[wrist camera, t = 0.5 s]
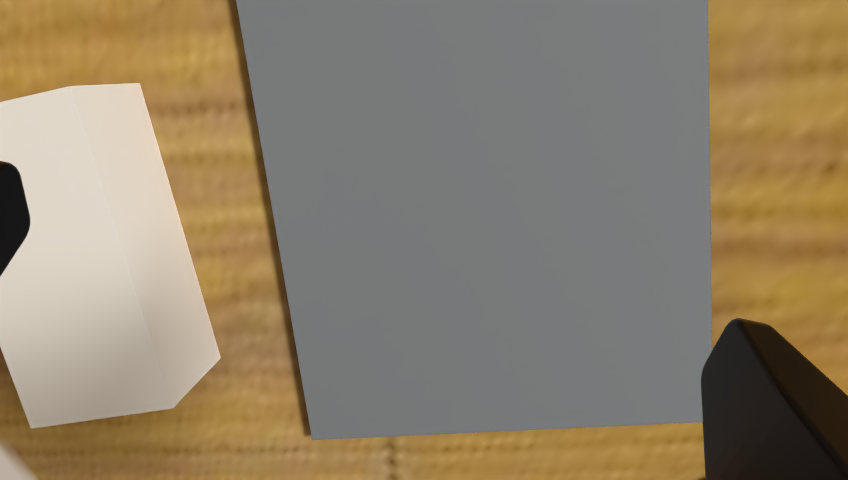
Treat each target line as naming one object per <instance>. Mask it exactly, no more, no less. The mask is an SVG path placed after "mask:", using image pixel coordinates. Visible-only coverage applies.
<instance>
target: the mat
mask: <svg viewBox="0 0 848 480" xmlns="http://www.w3.org/2000/svg"><path fill="white" fill-rule="evenodd" d="M236 3H237V9H238V14H239V20H240V26H241V32H242V37H243V43H244V49H245V55H246V61H247V66H248V72H249V78H250V84H251V89H252V95H253V101H254V107H255V113H256V118H257V124H258V130H259V136H260V142H261V147H262V153H263V159H264V165H265V170H266V176H267V182H268V188H269V194H270V199H271V205H272V211H273V217H274V222H275V228H276V234H277V240H278V246H279V251H280V257H281V263H282V269H283V275H284V280H285V286H286V292H287V298H288V303H289V309H290V315H291V321H292V327H293V332H294V338H295V344H296V350H297V355H298V361H299V367H300V373H301V379H302V384H303V390H304V396H305V402H306V408H307V413H308V419H309V425H310V431H311V436H312V440H321V439H343V438H365V437H387V436H409V435H431V434H452V433H474V432H496V431H518V430H540V429H562V428H584V427H605V426H627V425H649V424H671V423H693V422H703V417H702V397H701V375H702V370H703V367H704V364H705V362H706V360H707V359H708V357H709V355H710V353H711V352H712V295H711V214H710V133H709V52H708V0H236Z"/></svg>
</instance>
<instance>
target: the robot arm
mask: <svg viewBox="0 0 848 480" xmlns="http://www.w3.org/2000/svg"><path fill="white" fill-rule="evenodd" d="M29 228H30V214H29V209H28V205H27V201H26V196H25V192H24V188H23V183H22V179H21V175H20V172H19V171H18V169H17V168H16V167H15V166H14V165H13V164H11V163H9V162H4V161H0V277H1V275H2V273H3V272H4V270H5V269H6V267H7V266H8V264H9V263H10V261H11V260H12V258H13V257H14V255H15V254H16V252H17V251H18V249H19V248H20V246H21V244H22V243H23V241H24V240H25V238H26V236H27V234H28V232H29ZM701 397H702V417H703V436H704V456H705V476H706V480H848V396H847V395H846V394H845V393H844V392H843V391H842V390H841V389H840V388H839V387H837V386H836V385H835V384H834V383H833V382H832V381H831V380H830V379H829V378H828V377H826V376H825V375H824V374H823V373H822V372H821V371H820V370H819V369H818V368H817V367H815V366H814V365H813V364H812V363H811V362H810V361H809V360H808V359H807V358H806V357H804V356H803V355H802V354H801V353H800V352H799V351H798V350H797V349H796V348H795V347H793V346H792V345H791V344H790V343H789V342H788V341H787V340H786V339H785V338H784V337H782V336H781V335H780V334H779V333H778V332H777V331H776V330H775V329H774V328H772V327H771V326H769V325H767V324H764V323H760V322H755V321H750V320H746V319H741V318H737V319H734V320H732V321H730V322H729V323H728V325H727V326H726V327H725V329H724V331H723V333H722V334H721V336H720V338H719V340H718V341H717V343H716V345H715V346H714V348H713V350H712V352H711V353H710V355H709V357H708V359H707V360H706V362H705V364H704V367H703V370H702V375H701Z"/></svg>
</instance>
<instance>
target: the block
mask: <svg viewBox="0 0 848 480" xmlns="http://www.w3.org/2000/svg"><path fill="white" fill-rule="evenodd" d="M0 161H4V162H9V163H11V164H13V165H14V166H15V167H16V168H17V169H18V171H19V172H20V175H21V179H22V183H23V188H24V192H25V196H26V201H27V205H28V209H29V214H30V228H29V232H28V234H27V236H26V238H25V240H24V241H23V243H22V244H21V246H20V248H19V249H18V251H17V252H16V254H15V255H14V257H13V258H12V260H11V261H10V263H9V264H8V266H7V267H6V269H5V270H4V272H3V273H2V275H1V277H0V347H1V350H2V353H3V355H4V358H5V361H6V363H7V366H8V369H9V371H10V374H11V377H12V379H13V382H14V385H15V387H16V390H17V393H18V395H19V398H20V401H21V403H22V406H23V409H24V411H25V414H26V417H27V419H28V422H29V425H30V427H31V429H33V428H40V427H47V426H54V425H61V424H68V423H75V422H82V421H89V420H95V419H102V418H109V417H116V416H123V415H130V414H137V413H144V412H151V411H158V410H165V409H172V408H174V407H175V406H176V405H177V403H178V402H179V401H180V400H181V399H182V398H183V397H184V396H185V395H186V394H187V393H188V392H189V391H190V390H191V389H192V388H193V387H194V386H195V385H196V384H197V382H198V381H199V380H200V379H201V378H202V377H203V376H204V375H205V374H206V373H207V372H208V371H209V370H210V369H211V368H212V367H213V366H214V365H215V364H216V362H217V361H218V360H219V359H220V358H221V357H220V354H219V350H218V347H217V344H216V340H215V337H214V333H213V330H212V327H211V323H210V320H209V317H208V313H207V310H206V306H205V303H204V300H203V296H202V293H201V289H200V286H199V283H198V279H197V276H196V273H195V269H194V266H193V262H192V259H191V256H190V252H189V249H188V245H187V242H186V239H185V235H184V232H183V229H182V225H181V222H180V218H179V215H178V212H177V208H176V205H175V201H174V198H173V195H172V191H171V188H170V185H169V181H168V178H167V174H166V171H165V168H164V164H163V161H162V157H161V154H160V151H159V147H158V144H157V141H156V137H155V134H154V130H153V127H152V124H151V120H150V117H149V113H148V110H147V107H146V103H145V100H144V97H143V93H142V90H141V86H140V83H130V84H108V85H86V86H69V87H65V88H60V89H56V90H52V91H47V92H43V93H38V94H34V95H30V96H25V97H21V98H17V99H12V100H8V101H3V102H0Z"/></svg>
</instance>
